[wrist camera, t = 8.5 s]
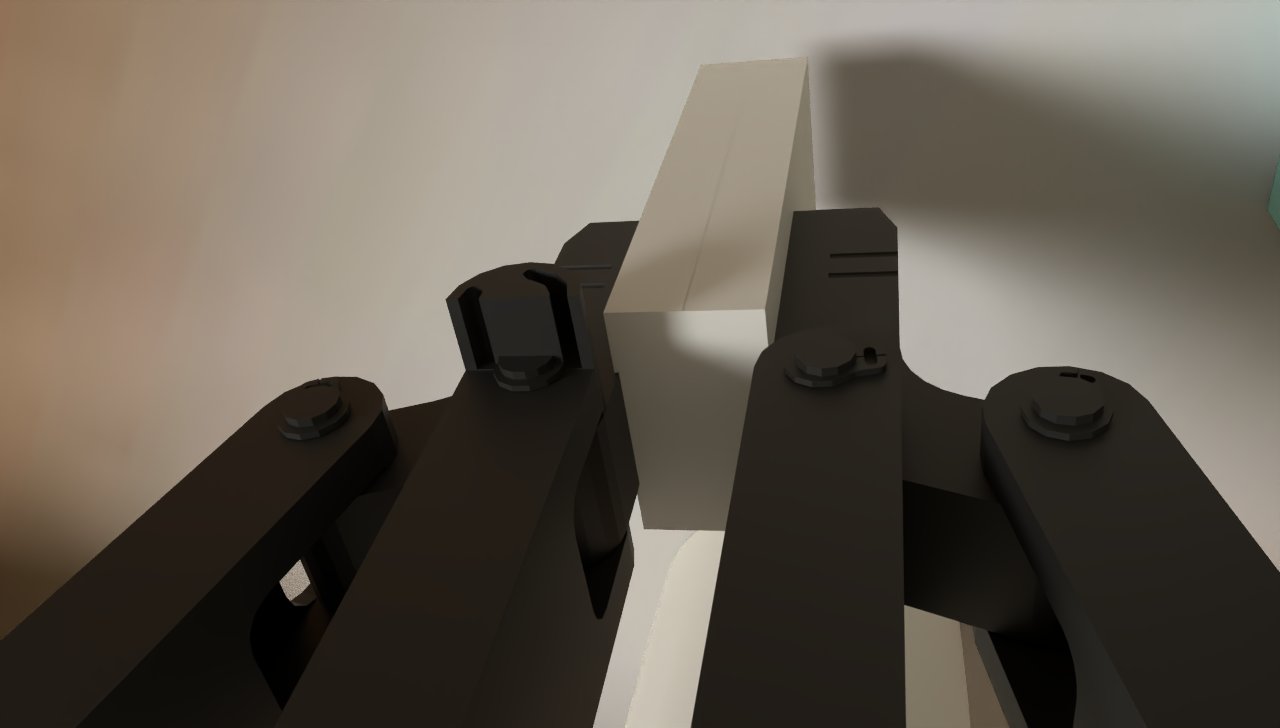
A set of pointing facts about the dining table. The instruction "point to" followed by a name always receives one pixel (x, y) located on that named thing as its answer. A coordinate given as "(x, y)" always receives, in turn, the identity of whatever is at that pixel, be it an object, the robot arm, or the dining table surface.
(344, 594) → the robot arm
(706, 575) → the mug
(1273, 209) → the teal bar
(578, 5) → the dining table surface
